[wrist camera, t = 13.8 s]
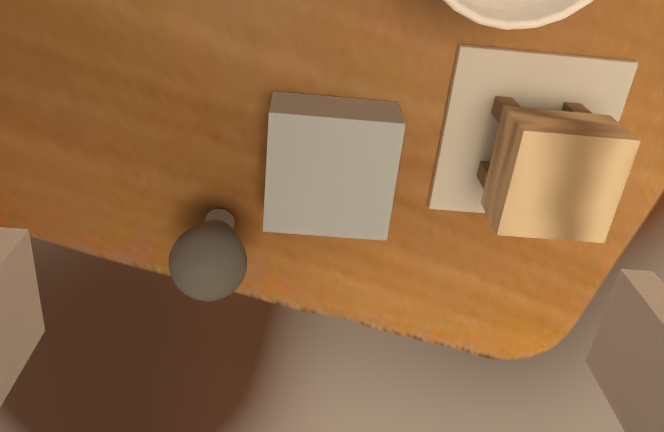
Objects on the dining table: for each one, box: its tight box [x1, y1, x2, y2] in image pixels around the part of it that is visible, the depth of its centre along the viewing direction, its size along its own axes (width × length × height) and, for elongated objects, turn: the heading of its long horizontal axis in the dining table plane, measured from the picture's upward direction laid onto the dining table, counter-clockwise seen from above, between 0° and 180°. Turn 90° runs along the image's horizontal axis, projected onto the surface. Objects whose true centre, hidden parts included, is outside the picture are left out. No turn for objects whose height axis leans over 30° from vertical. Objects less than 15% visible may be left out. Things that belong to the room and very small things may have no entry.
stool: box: [477, 96, 641, 243], centre depth 47 cm, size 8×8×9 cm
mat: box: [428, 44, 638, 213], centre depth 51 cm, size 14×14×1 cm
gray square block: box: [263, 91, 405, 240], centre depth 50 cm, size 10×10×5 cm
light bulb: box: [169, 209, 247, 301], centre depth 50 cm, size 6×6×10 cm
